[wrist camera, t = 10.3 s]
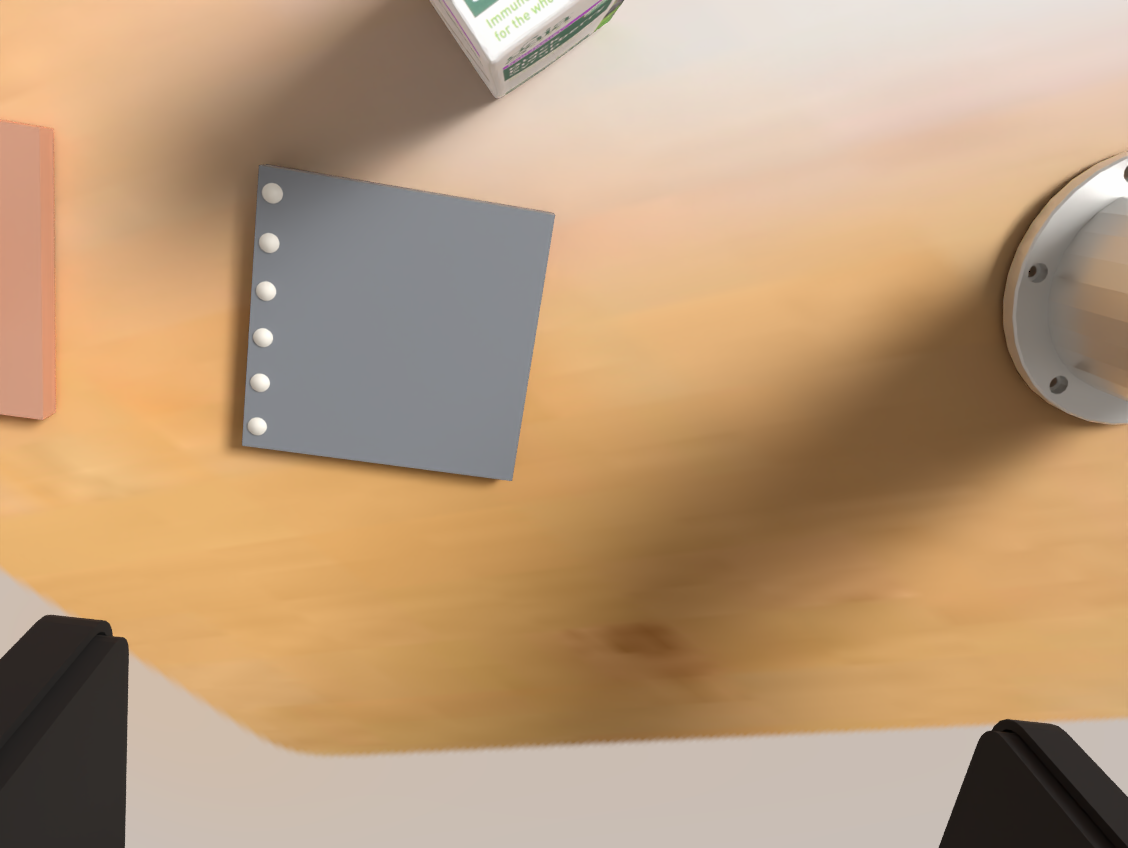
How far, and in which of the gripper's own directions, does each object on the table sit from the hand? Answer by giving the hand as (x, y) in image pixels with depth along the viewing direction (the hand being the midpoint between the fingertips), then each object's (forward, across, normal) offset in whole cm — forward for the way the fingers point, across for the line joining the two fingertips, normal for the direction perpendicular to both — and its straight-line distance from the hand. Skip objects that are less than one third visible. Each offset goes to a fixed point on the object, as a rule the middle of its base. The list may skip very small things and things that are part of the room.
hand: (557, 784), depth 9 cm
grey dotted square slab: (+30, +5, +2) cm, 31 cm away
